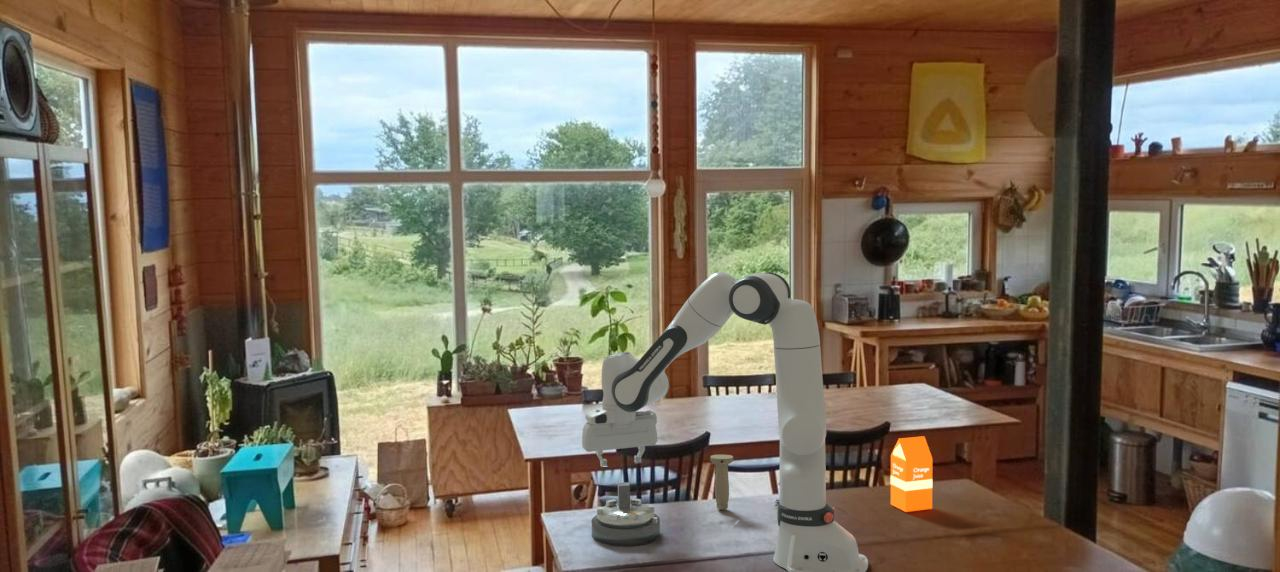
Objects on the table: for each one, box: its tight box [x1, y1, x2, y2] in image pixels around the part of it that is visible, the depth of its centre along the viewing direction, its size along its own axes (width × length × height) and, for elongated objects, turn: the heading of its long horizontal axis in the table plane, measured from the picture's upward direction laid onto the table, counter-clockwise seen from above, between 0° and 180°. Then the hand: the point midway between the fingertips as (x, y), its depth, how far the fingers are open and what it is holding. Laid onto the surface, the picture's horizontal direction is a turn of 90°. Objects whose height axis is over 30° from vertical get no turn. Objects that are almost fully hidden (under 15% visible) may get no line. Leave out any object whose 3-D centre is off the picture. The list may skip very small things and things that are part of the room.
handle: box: [710, 454, 734, 510], centre depth 260 cm, size 5×6×15 cm
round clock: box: [596, 481, 655, 528], centre depth 239 cm, size 15×15×8 cm
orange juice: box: [890, 435, 933, 513], centre depth 259 cm, size 8×9×20 cm
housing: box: [591, 513, 661, 548], centre depth 240 cm, size 18×18×6 cm
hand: (620, 464), depth 243 cm, fingers open, 8 cm apart
